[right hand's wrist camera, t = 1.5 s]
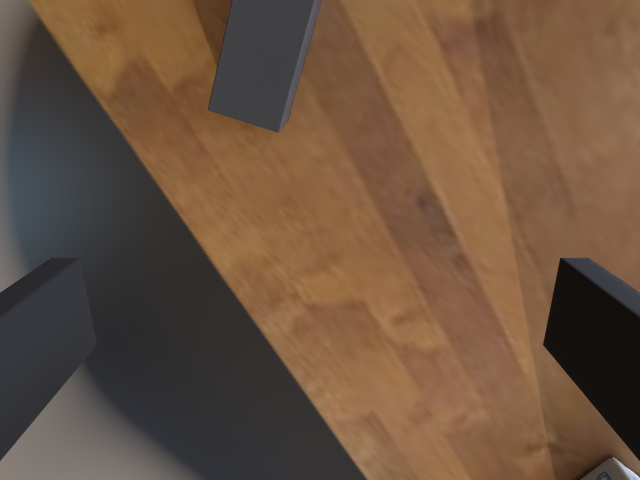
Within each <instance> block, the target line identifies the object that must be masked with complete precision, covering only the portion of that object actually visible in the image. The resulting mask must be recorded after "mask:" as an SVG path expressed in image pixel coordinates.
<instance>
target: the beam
mask: <svg viewBox="0 0 640 480" xmlns="http://www.w3.org/2000/svg"><path fill="white" fill-rule="evenodd" d="M321 1H322V0H232V2H231V7H230V11H229V16H228V20H227V25H226V29H225V34H224V39H223V43H222V48H221V52H220V57H219V61H218V66H217V70H216V75H215V80H214V84H213V89H212V93H211V98H210V102H209V107H208V110H209V111H212V112H215V113H218V114H221V115H224V116H228V117H231V118H234V119H237V120H240V121H243V122H246V123H250V124H253V125H256V126H259V127H262V128H265V129H268V130H272V131H275V132H279V131H280V130H281V129H282V128H283V127H284V125H285V124H286V123H287V122H288V118H289V115H290V111H291V108H292V104H293V100H294V97H295V93H296V90H297V86H298V83H299V79H300V75H301V72H302V68H303V65H304V61H305V58H306V54H307V51H308V47H309V43H310V40H311V36H312V33H313V29H314V26H315V22H316V18H317V15H318V11H319V8H320V4H321Z"/></svg>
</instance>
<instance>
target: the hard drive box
mask: <svg viewBox="0 0 640 480" xmlns="http://www.w3.org/2000/svg"><path fill="white" fill-rule="evenodd" d="M580 480H640V478H639V477H638V476H637V475H636V474H635V473H633V472H632V471H631V470H629V469H628V468H627V467H625V466H624V465H623V464H622V463H620V462H619V461H618V460H617V459H615V458H614V457H613V458H611V459H610V458H609V459H607V460H606V461H605V462H603V463H602V464H601V465H599V466H598V467H597V468H595V469H594V470H593V471H591V472H590V473H588V474H587V475H586V476H584V477H583V478H582V479H580Z"/></svg>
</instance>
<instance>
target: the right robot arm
mask: <svg viewBox="0 0 640 480" xmlns="http://www.w3.org/2000/svg"><path fill="white" fill-rule="evenodd" d="M96 345H97V343H96V338H95V333H94V328H93V323H92V318H91V313H90V308H89V303H88V298H87V293H86V288H85V283H84V278H83V273H82V268H81V263H80V258H51V259H49V260H48V261H46V262H45V263H43V264H42V265H41V266H39V267H38V268H36V269H35V270H33V271H32V272H30V273H29V274H27V275H26V276H24V277H23V278H21V279H20V280H18V281H17V282H15V283H14V284H12V285H11V286H9V287H8V288H7V289H5V290H4V291H2V292H1V293H0V461H1V459H2V458H3V457H4V456H5V455H6V453H7V452H8V451H9V450H10V449H11V447H12V446H13V445H14V444H15V443H16V441H17V440H18V439H19V438H20V437H21V435H22V434H23V433H24V432H25V431H26V429H27V428H28V427H29V426H30V425H31V423H32V422H33V421H34V420H35V419H36V417H37V416H38V415H39V414H40V413H41V411H42V410H43V409H44V408H45V406H46V405H47V404H48V403H49V402H50V400H51V399H52V398H53V397H54V396H55V394H56V393H57V392H58V391H59V390H60V389H61V387H62V386H63V385H64V384H65V382H66V381H67V380H68V379H69V378H70V376H71V375H72V374H73V373H74V372H75V370H76V369H77V368H78V367H79V366H80V364H81V363H82V362H83V361H84V360H85V358H86V357H87V356H88V355H89V354H90V352H91V351H92V350H93V349H94V348H95V346H96ZM543 345H544V346H545V348H546V349H547V350H548V351H549V352H550V354H551V355H552V356H553V357H554V358H555V360H556V361H557V362H558V363H559V364H560V366H561V367H562V368H563V369H564V370H565V372H566V373H567V374H568V375H569V376H570V378H571V379H572V380H573V381H574V382H575V384H576V385H577V386H578V387H579V389H580V390H581V391H582V392H583V393H584V395H585V396H586V397H587V398H588V399H589V401H590V402H591V403H592V404H593V405H594V407H595V408H596V409H597V410H598V411H599V413H600V414H601V415H602V416H603V417H604V419H605V420H606V421H607V422H608V423H609V425H610V426H611V427H612V428H613V429H614V431H615V432H616V433H617V434H618V435H619V437H620V438H621V439H622V440H623V441H624V443H625V444H626V445H627V446H628V447H629V449H630V450H631V451H632V452H633V453H634V455H635V456H636V457H637V458H638V459H639V461H640V293H639V292H638V291H636V290H635V289H633V288H632V287H631V286H629V285H628V284H626V283H625V282H623V281H622V280H620V279H619V278H617V277H616V276H614V275H613V274H611V273H610V272H608V271H607V270H605V269H604V268H602V267H601V266H599V265H598V264H597V263H595V262H594V261H592V260H591V259H589V258H560V263H559V268H558V273H557V278H556V283H555V288H554V293H553V298H552V303H551V308H550V313H549V318H548V323H547V328H546V333H545V338H544V343H543Z"/></svg>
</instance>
